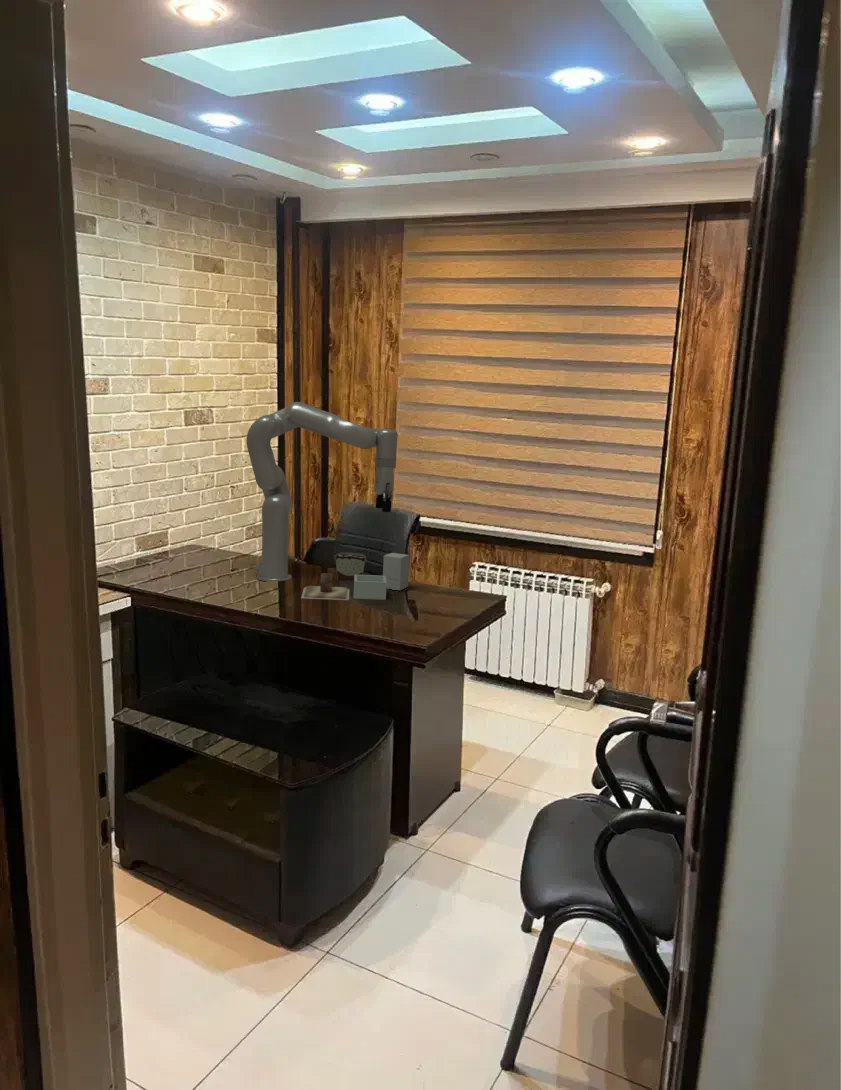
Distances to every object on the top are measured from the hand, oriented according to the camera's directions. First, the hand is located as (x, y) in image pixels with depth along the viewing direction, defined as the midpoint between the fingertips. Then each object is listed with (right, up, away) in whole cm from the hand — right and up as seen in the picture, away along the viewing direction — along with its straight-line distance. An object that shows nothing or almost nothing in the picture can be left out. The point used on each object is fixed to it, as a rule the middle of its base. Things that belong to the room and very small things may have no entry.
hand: (383, 510), depth 300 cm
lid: (-19, -30, -18) cm, 40 cm away
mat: (-19, -30, -18) cm, 40 cm away
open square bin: (-4, -31, -17) cm, 35 cm away
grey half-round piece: (-13, -26, +8) cm, 30 cm away
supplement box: (+4, -29, -2) cm, 29 cm away
